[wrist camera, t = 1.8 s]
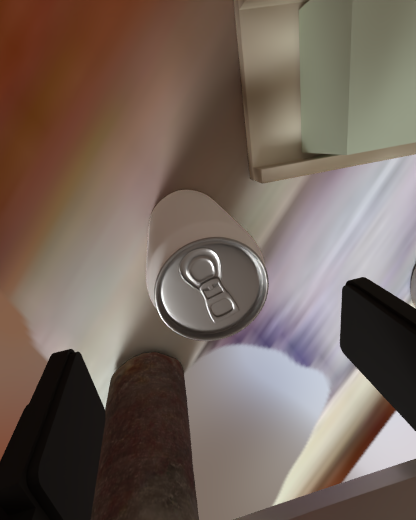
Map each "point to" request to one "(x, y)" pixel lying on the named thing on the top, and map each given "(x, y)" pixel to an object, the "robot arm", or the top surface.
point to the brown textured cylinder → (146, 445)
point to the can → (203, 268)
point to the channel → (281, 95)
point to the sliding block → (357, 75)
